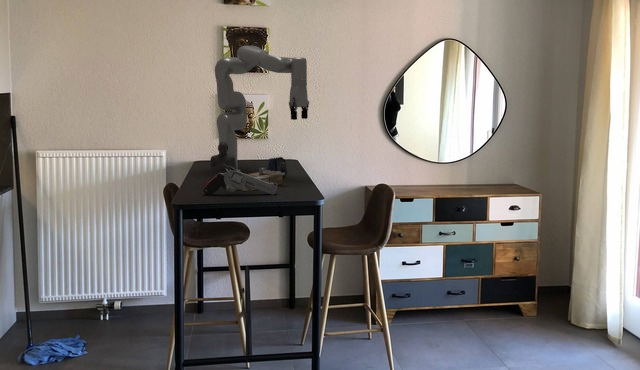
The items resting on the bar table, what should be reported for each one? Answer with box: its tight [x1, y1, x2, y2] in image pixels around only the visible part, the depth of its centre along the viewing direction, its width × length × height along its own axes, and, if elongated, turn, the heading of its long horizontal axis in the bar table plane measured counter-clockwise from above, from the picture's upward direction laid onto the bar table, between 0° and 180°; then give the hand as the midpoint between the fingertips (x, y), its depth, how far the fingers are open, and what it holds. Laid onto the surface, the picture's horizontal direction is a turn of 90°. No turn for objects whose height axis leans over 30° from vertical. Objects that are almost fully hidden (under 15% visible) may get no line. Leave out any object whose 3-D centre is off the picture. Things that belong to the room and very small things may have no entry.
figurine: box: [209, 142, 236, 177], centre depth 320 cm, size 12×8×20 cm, turn 92°
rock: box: [266, 156, 288, 178], centre depth 345 cm, size 10×6×10 cm, turn 142°
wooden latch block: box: [227, 171, 283, 192], centre depth 317 cm, size 14×26×5 cm, turn 149°
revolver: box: [202, 167, 279, 196], centre depth 294 cm, size 4×29×15 cm, turn 95°
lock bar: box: [258, 161, 288, 175], centre depth 321 cm, size 15×3×6 cm, turn 59°
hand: (299, 119), depth 332 cm, fingers open, 9 cm apart
